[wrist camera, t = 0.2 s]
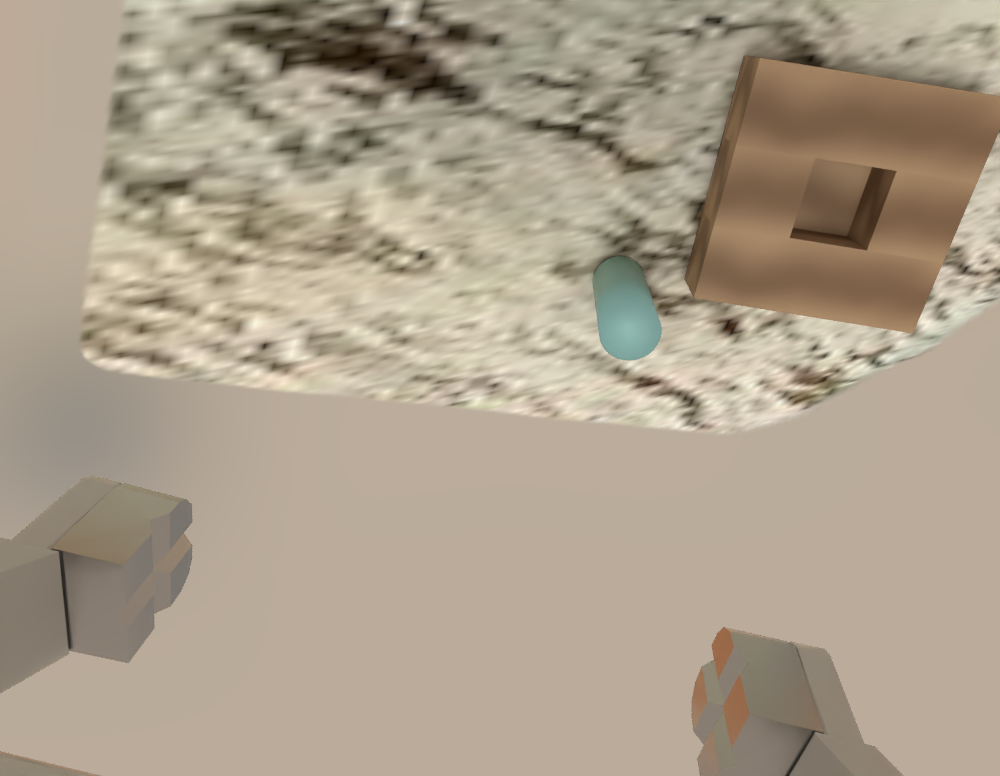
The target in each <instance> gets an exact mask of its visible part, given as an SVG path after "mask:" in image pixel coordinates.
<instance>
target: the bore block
mask: <svg viewBox="0 0 1000 776" xmlns="http://www.w3.org/2000/svg"><path fill="white" fill-rule="evenodd" d="M999 130H1000V96H996V95H989V94H983V93H977V92H971V91H964V90H958V89H952V88H946V87H939V86H933V85H927V84H921V83H914V82H908V81H902V80H896V79H889V78H883V77H877V76H871V75H864V74H858V73H852V72H846V71H839V70H833V69H827V68H821V67H814V66H808V65H802V64H796V63H790V62H783V61H777V60H771V59H765V58H758V57H749V56H744V58H743V62H742V66H741V69H740V73H739V77H738V81H737V84H736V88H735V92H734V96H733V99H732V103H731V107H730V111H729V114H728V118H727V122H726V126H725V129H724V133H723V137H722V141H721V144H720V148H719V152H718V156H717V159H716V163H715V167H714V171H713V174H712V178H711V182H710V186H709V189H708V193H707V197H706V201H705V204H704V208H703V212H702V216H701V219H700V223H699V227H698V231H697V234H696V238H695V242H694V246H693V249H692V253H691V257H690V261H689V264H688V268H687V272H686V276H685V281H686V283H687V285H688V287H689V289H690V291H691V293H692V295H693V297H694V298H699V299H705V300H711V301H717V302H723V303H729V304H736V305H742V306H748V307H754V308H760V309H766V310H773V311H779V312H785V313H791V314H797V315H803V316H810V317H816V318H822V319H828V320H834V321H840V322H847V323H853V324H859V325H865V326H871V327H877V328H884V329H890V330H896V331H902V332H908V333H913V332H914V329H915V327H916V325H917V322H918V320H919V318H920V315H921V313H922V311H923V308H924V306H925V304H926V301H927V299H928V296H929V294H930V292H931V289H932V287H933V285H934V282H935V280H936V278H937V275H938V273H939V271H940V268H941V266H942V264H943V261H944V259H945V257H946V254H947V252H948V250H949V247H950V245H951V243H952V240H953V238H954V236H955V233H956V231H957V228H958V226H959V224H960V221H961V219H962V217H963V214H964V212H965V210H966V207H967V205H968V203H969V200H970V198H971V196H972V193H973V191H974V189H975V186H976V184H977V182H978V179H979V177H980V175H981V172H982V170H983V168H984V165H985V163H986V160H987V158H988V156H989V153H990V151H991V149H992V146H993V144H994V142H995V139H996V137H997V135H998V132H999Z"/></svg>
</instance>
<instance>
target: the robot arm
mask: <svg viewBox="0 0 1000 776" xmlns="http://www.w3.org/2000/svg"><path fill="white" fill-rule="evenodd" d="M191 523H192V504H191V503H189V501H187V500H186V499H183V498H179V497H174V496H171V495H167V494H163V493H160V492H156V491H152V490H148V489H144V488H141V487H136V486H133V485H129V484H122V483H119V482H115V481H111V480H108V479H104V478H100V477H96V476H90V477H86V478H83V479H81V480H80V481H79V482H78V483H77V484H75V485H74V486H73V487H72V488H71V489H70V490H68V491H67V492H66V493H65V494H64V495H63V496H62V497H60V498H59V499H58V500H57V501H56V502H55V503H54V504H52V505H51V506H50V507H49V508H48V509H47V510H45V511H44V512H43V513H42V514H41V515H40V516H38V518H36V519H35V520H34V521H33V522H32V523H31V524H29V525H28V526H27V527H26V528H25V529H24V530H22V531H21V532H20V533H19V534H18V535H17V536H15V537H14V538H13V539H12V540H9V539H4V538H0V693H2V692H4V691H5V690H7V689H9V688H11V687H12V686H14V685H16V684H18V683H19V682H21V681H23V680H25V679H26V678H28V677H30V676H32V675H33V674H35V673H36V672H38V671H40V670H42V669H44V668H45V667H47V666H49V665H51V664H52V663H54V662H56V661H58V660H59V659H61V658H63V657H64V656H66V655H68V654H69V651H74V652H78V653H84V654H88V655H93V656H97V657H102V658H107V659H112V660H116V661H121V662H126V663H129V662H130V660H131V659H132V658H133V656H134V655H135V654H136V652H137V651H138V650H139V648H140V647H141V646H142V644H143V643H144V641H145V640H146V639H147V637H148V636H149V635H150V633H151V632H152V631H153V629H154V614H155V613H157V612H159V611H161V610H163V609H165V608H168V607H170V606H171V605H172V604H173V602H174V601H175V599H176V598H177V596H178V595H179V594H180V592H181V590H182V588H183V586H184V583H185V581H186V579H187V576H188V574H189V570H190V565H191V560H192V544H191V543H190V541H189V540H188V539H187V537H186V536H185V534H184V532H185V531H186V529H187V528H188V527H189V526H190V524H191ZM712 650H713V655H714V660H713V661H711V662H709V663H708V664H706V665H704V666H702V667H701V670H700V672H699V675H698V677H697V680H696V682H695V686H694V692H693V697H692V723H693V730H694V733H695V734H696V735H697V736H698V737H699V739H700V740H701V742H702V743H703V744H704V746H703V748H702V750H701V752H700V754H699V757H698V758H697V760H698V766H699V773H700V776H903V775H902V774H901V773H900V772H899V771H898V770H897V768H896V767H895V766H893V764H892V763H891V762H890V761H888V759H887V758H886V757H884V755H883V754H882V753H881V752H880V751H879V750H877V748H876V747H875V746H871V745H867V744H864V742H863V739H862V737H861V734H860V731H859V729H858V726H857V724H856V721H855V718H854V716H853V713H852V711H851V708H850V705H849V703H848V700H847V698H846V695H845V693H844V690H843V687H842V685H841V682H840V679H839V677H838V674H837V672H836V669H835V667H834V664H833V661H832V659H831V656H830V654H829V653H828V652H827V651H826V650H825V649H822V648H818V647H813V646H808V645H803V644H799V643H794V642H787V641H783V640H778V639H774V638H770V637H765V636H761V635H756V634H752V633H748V632H743V631H739V630H735V629H730V628H726V627H723V628H722V629H721V630H720V631H719V632H718V633H717V635H716V637H715V640H714V642H713V644H712ZM0 776H99V775H95V774H91V773H87V772H83V771H79V770H75V769H71V768H67V767H62V766H58V765H54V764H50V763H46V762H42V761H38V760H34V759H29V758H26V757H21V756H17V755H13V754H9V753H5V752H1V751H0Z"/></svg>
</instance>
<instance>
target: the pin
mask: <svg viewBox="0 0 1000 776" xmlns="http://www.w3.org/2000/svg"><path fill="white" fill-rule="evenodd" d="M593 288H594V296H595V304H596V312H597V321H598V329H599V337H600V341H601V344H602V346H603V347H604V349H605V350H606V351H607V352H608V353H609V354H610V355H612V356H614V357H616V358H618V359H622V360H636V359H640V358H642V357H645V356H646V355H648V354H649V353H651V352H652V351H653V350H654V349H655V347H656V346H657V344H658V342H659V340H660V337H661V324H660V320H659V317H658V314H657V312H656V309H655V306H654V303H653V300H652V297H651V294H650V291H649V288H648V285H647V282H646V279H645V276H644V273H643V271H642V269H641V267H640V265H639V264H638V263H637V262H636V261H634V260H633V259H631V258H628V257H625V256H615V257H611V258H608V259H606V260H605V261H603V262H602V263H601V264H600V265H599V266H598V267H597V269H596V271H595V273H594V276H593Z"/></svg>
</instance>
